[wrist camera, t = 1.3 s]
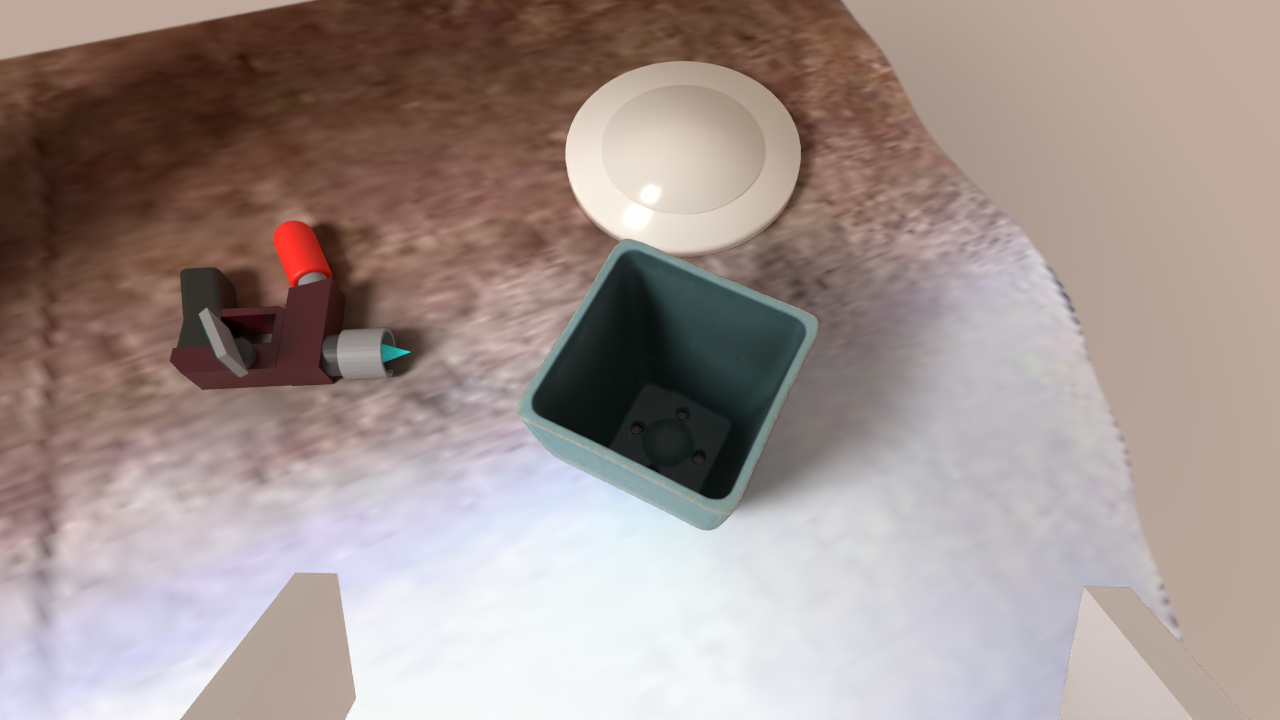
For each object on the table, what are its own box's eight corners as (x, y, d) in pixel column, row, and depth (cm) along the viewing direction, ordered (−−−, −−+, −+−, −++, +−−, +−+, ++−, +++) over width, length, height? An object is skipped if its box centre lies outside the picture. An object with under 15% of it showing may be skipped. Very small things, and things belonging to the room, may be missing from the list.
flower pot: (791, 406, 39) (825, 316, 31) (715, 571, 35) (731, 520, 27) (630, 334, 41) (621, 232, 32) (543, 485, 37) (509, 413, 29)
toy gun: (415, 393, 40) (384, 349, 35) (175, 405, 40) (115, 363, 36) (429, 231, 44) (403, 174, 40) (212, 243, 44) (162, 187, 40)
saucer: (522, 193, 44) (518, 180, 43) (643, 45, 49) (643, 30, 48) (728, 296, 41) (730, 284, 40) (837, 127, 46) (841, 112, 45)
